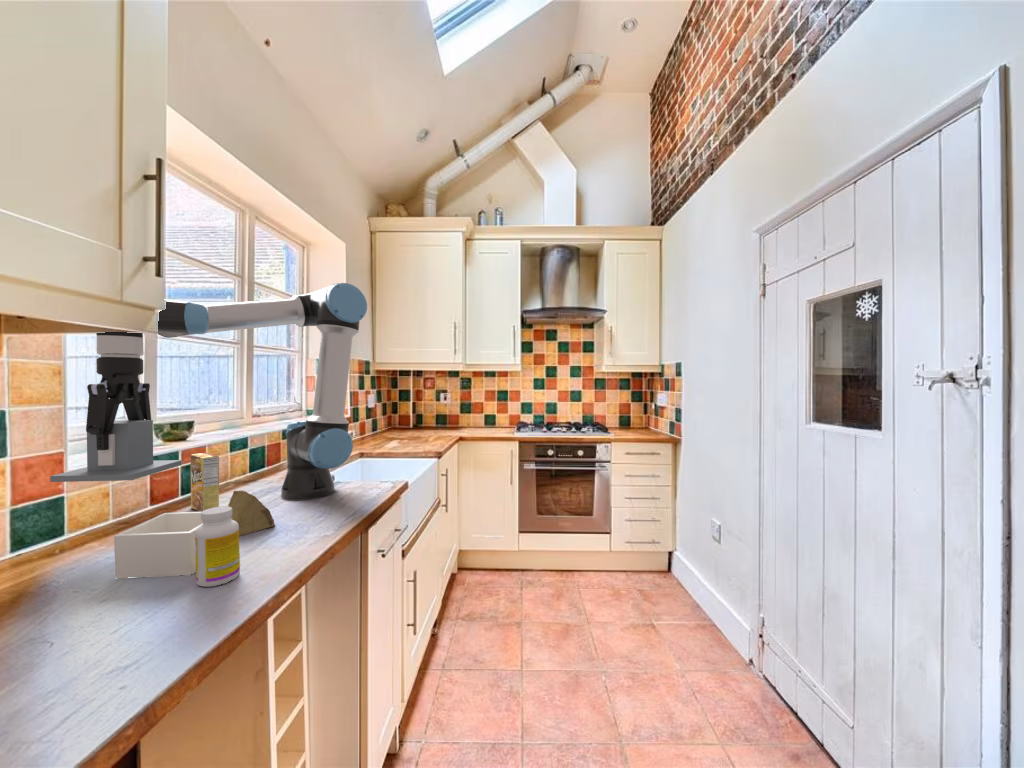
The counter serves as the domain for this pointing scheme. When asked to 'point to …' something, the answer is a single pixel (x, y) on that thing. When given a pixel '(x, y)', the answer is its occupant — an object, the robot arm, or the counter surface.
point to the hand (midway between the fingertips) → (121, 461)
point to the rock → (249, 513)
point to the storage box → (158, 547)
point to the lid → (121, 455)
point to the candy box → (204, 481)
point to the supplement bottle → (217, 547)
